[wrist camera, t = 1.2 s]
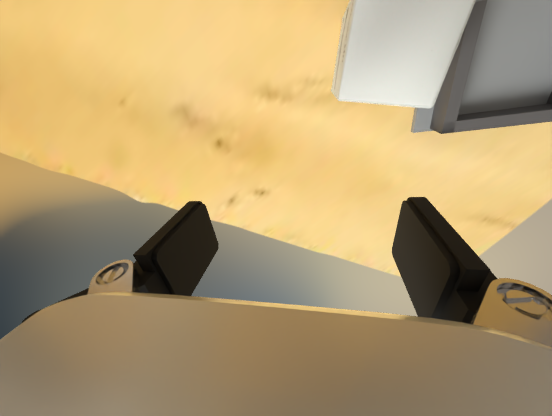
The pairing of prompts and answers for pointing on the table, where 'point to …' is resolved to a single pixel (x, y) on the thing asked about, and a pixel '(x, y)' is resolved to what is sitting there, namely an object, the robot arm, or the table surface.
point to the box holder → (496, 70)
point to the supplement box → (397, 50)
